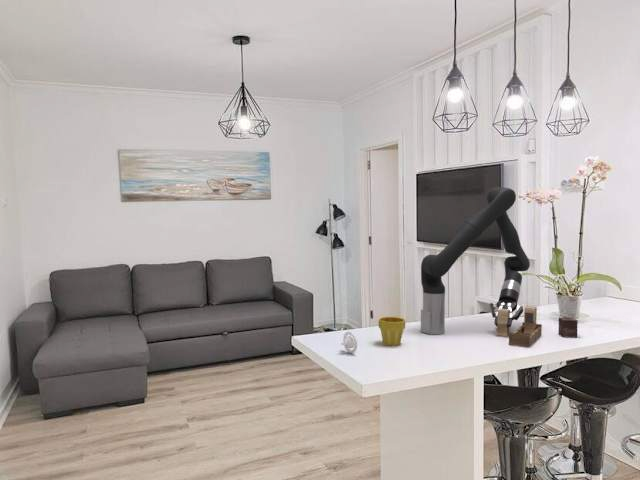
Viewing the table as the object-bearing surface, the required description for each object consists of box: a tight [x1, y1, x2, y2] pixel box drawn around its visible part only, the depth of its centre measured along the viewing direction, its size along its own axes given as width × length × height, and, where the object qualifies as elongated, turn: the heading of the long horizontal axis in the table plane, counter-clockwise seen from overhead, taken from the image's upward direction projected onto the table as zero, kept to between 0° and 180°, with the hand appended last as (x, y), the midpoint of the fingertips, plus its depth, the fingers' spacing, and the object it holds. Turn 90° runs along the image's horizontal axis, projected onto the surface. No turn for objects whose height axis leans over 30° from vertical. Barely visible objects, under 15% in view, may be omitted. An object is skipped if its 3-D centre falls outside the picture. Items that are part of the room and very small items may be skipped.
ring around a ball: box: [340, 330, 358, 354], centre depth 187 cm, size 8×6×8 cm
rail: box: [508, 305, 543, 349], centre depth 207 cm, size 24×8×12 cm, turn 147°
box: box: [557, 316, 578, 339], centre depth 214 cm, size 6×6×7 cm
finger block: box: [496, 308, 510, 338], centre depth 214 cm, size 4×4×11 cm
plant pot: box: [378, 316, 406, 347], centre depth 201 cm, size 10×10×10 cm
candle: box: [512, 271, 524, 318], centre depth 255 cm, size 7×7×25 cm
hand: (502, 325), depth 212 cm, fingers closed on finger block, 4 cm apart
